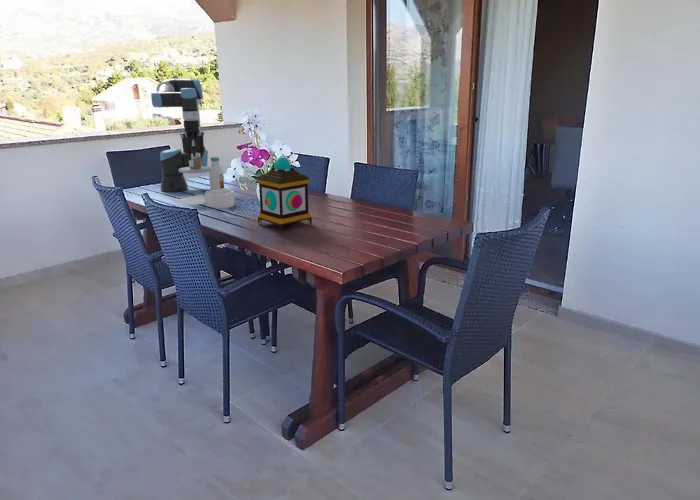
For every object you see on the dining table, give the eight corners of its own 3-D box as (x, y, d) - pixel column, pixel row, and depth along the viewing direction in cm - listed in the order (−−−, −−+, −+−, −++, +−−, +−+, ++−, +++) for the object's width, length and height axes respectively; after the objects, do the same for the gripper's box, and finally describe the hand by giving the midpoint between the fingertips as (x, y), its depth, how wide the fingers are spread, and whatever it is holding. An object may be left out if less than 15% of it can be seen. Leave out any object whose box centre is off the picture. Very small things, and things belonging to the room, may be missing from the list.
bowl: (200, 206, 258) (199, 192, 256) (221, 200, 269) (220, 188, 267) (219, 209, 250) (218, 195, 248) (240, 204, 262) (239, 191, 259)
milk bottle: (216, 194, 284) (213, 159, 278) (207, 192, 289) (204, 157, 282) (227, 192, 290) (224, 157, 284) (218, 190, 294) (215, 156, 288)
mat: (173, 201, 267) (173, 200, 267) (200, 195, 282) (200, 194, 282) (196, 205, 258) (196, 204, 258) (222, 199, 272) (222, 198, 272)
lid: (171, 171, 262) (170, 157, 260) (197, 167, 276) (196, 154, 274) (193, 174, 254) (192, 160, 251) (219, 169, 267) (218, 156, 265)
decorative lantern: (253, 224, 225) (249, 156, 215) (288, 216, 238) (286, 152, 228) (280, 233, 211) (277, 161, 202) (316, 224, 224) (315, 157, 215)
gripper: (182, 121, 248) (186, 168, 255) (208, 119, 261) (212, 164, 269) (172, 120, 252) (177, 167, 259) (199, 118, 265) (203, 163, 273)
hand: (195, 165), depth 264 cm, fingers closed on lid, 4 cm apart
